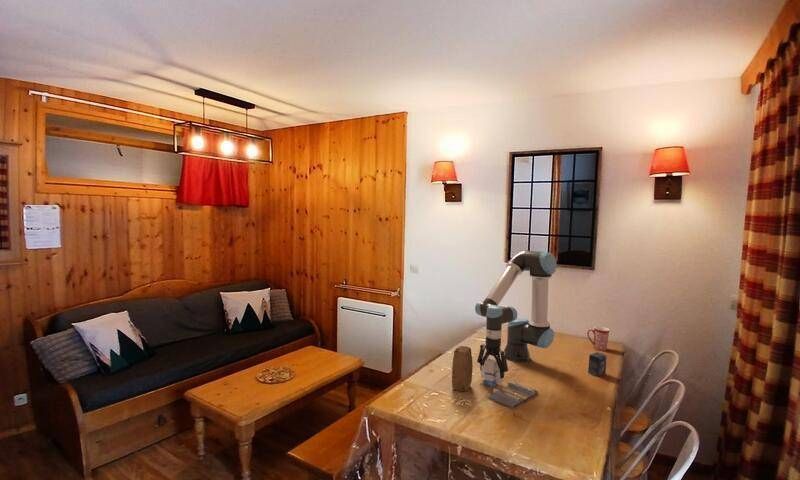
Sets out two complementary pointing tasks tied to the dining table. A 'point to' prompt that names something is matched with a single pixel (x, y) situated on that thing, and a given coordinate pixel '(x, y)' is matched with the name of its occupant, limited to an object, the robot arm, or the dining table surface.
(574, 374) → the dining table surface
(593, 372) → the box
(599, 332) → the mug
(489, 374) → the ink box
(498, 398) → the rail board
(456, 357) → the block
